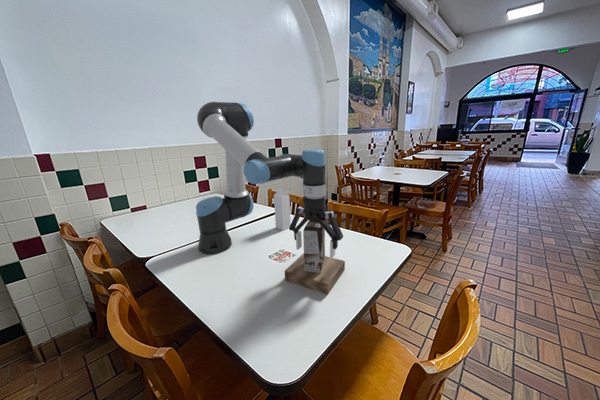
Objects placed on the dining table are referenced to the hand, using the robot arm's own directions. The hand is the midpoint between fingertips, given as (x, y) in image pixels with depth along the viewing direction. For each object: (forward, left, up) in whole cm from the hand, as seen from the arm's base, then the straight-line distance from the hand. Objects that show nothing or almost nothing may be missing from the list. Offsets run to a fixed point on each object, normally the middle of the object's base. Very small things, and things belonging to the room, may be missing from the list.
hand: (315, 252), depth 88 cm
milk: (-36, +32, -10) cm, 49 cm away
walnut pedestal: (0, 0, -10) cm, 10 cm away
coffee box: (0, 0, -6) cm, 6 cm away
